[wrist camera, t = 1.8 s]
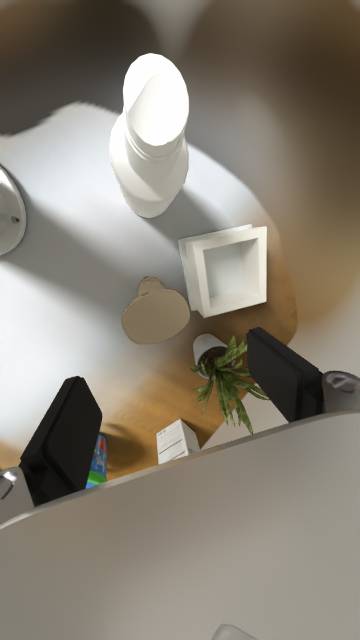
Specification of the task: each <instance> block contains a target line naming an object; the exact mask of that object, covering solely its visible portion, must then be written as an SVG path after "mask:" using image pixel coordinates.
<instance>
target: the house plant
mask: <svg viewBox="0 0 360 640" xmlns="http://www.w3.org/2000/svg"><path fill="white" fill-rule="evenodd" d="M235 348H236V340H235V337H234V334H233V337H232V338H231V340H230V341H229V343H228V346H227V345H225V344H224V343H223V342H221V341H220V340H219V339H217V338H216V337H215V336H213V335H211V334H202V335H200V336H198V337H197V338H196V339H195V340H194V342H193V352H194V358H195V363H196V366H191V365H189V366H190V368H191V370H192V371H193V372H197V371H198V373H199V374H200V375H201V376H202V377H204V378H207V379H209V381H208V383H207V384H206V385H205V386H202V387H199V388H196V389H193V390H194V391H197V392H202V391H203V392H202V394H201V395H200V396H199V397H198V398H197V399H196V400H194V401H202V400H203V399H204V398H205V397H206V396H207V394H208V392H209V390H210V392H209V394H208V397H207V400H206V403H205V406H204V409H205V407H206V405H207V402H208V399H209V396H210V394H211V391H212V387H213V380H214V379H216V385H217V391H218V396H219V403H220V408H221V411H222V414H223V417H224V419H225V421H226V423H227V425H228V420H227V413H228V416H229V418H230V420H231V422H232V423H233V425H234V426H235V423H234V420H233V416H232V412H231V409H230V406H229V403H228V400H231V399H232V400H233V402H234V405H235V409H236V410H237V414H238V418H239V426H240V423H241V420H242V421H243V423H244V424H245V425H246V427H247V428H248V430H249V432H250V433H251V434H253V430H252V426H251V423H250V420H249V418H248V416H247V413H246V411H245V408H244V406H243V404H242V402H241V401H240V399H239V398H238V397H237V395H238V394H239V391H238V389H237V388H236V387H240V388H244V389H245V390H247V391H248V392H249V393H251V394H252V395H254V396H255V397H257V398H260V399H263V400H270V399H267V398H264V397H262V396H260V395H258V394H256V393H254V392H253V391H251V390H250V389H252V390H254V391H256V392H257V393H259V394H261V395H264V396H266V397H268V396H267V395H266V394H265V393H264V391H263V390H262V389H260V388H258V387H257V386H255V385H253V384H251V383H248V382H246V381H244V380H242V379H240V378H239V377H237V376H235V375H238V376H246V377H251V375H250V373H249V371H248V367H246V368H240V367H241V365H242V363H243V362H242V359H241V360H240V361H239V363H238V364H237V365H236V366H234V363H235V360H236V359H237V358H239V357H240V356H241V355H242V354H243V353H245V352H247V344H246V345H244V340H243V342H242V343H240V344H239V345H238V347H237V348H236V349H235ZM230 370H233V371H237V372H241V373H245V374H238V373H232V372H229V371H230ZM231 373H232V374H231ZM233 374H234V375H233ZM212 379H213V380H212ZM211 383H212V385H211ZM235 386H236V387H235ZM210 387H211V389H210ZM247 387H249V388H250V389H249V388H247ZM224 402H225V404H224ZM225 407H226V408H225ZM204 409H203V411H204ZM226 410H227V413H226ZM203 411H202V413H203ZM201 415H202V414H201Z"/></svg>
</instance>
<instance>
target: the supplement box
mask: <svg viewBox="0 0 360 640" xmlns="http://www.w3.org/2000/svg"><path fill="white" fill-rule="evenodd" d="M157 447H158V460H159V464H162V463H165V462H168V461H171V460H174V459H177V458H180V457H184V456H187V455H190V454H193V453H196V452H199V451H200V448H199V444H198V440H197V437H196V434H195V432H194V431H193V430H191V429H190V428H189V427H188V426H187V425H186V424H185V423H184V422H183V421H182V420H181V419H179V420H177V421H175V422H174V423H172V424H171V425H169V426H168V427H166V428H165V429H163V430H162V431H160V432H159V433H157Z"/></svg>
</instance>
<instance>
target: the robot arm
mask: <svg viewBox="0 0 360 640" xmlns="http://www.w3.org/2000/svg"><path fill="white" fill-rule="evenodd" d="M17 219H19V222H18V221H17ZM25 229H26V211H25V206H24V203H23V200H22V197H21V195H20V192H19V191H18V189H17V187H16V185H15V184H14V182H13V181H12V179H11V178H10V177H9V175H8V174H7V173H6V171H5V170H4V169H3V168H2V167H1V166H0V255H3V254H6V253H8V252H9V251H11V250H12V249H14V248H15V247H16V246H17V245H18V244H19V243H20V241H21V239H22V237H23V236H24V233H25ZM246 337H247V356H248V371H249V373H250V375H251V377H252V378H253V379H254V380H255V381H256V383H257V384H258V385H259V386H260V388H261V389H262V390H263V391H264V393H265V394H266V395H267V396H268V397H269V399H270V400H271V401H272V402H273V404H274V405H275V406H276V407H277V408H278V410H279V411H280V412H281V413H282V414H283V416H284V417H285V418H286V420H287V421H288V422H289V423H288V424H284V425H281V426H278V427H274V428H271V429H268V430H265V431H262V432H259V433H255V434H252V435H249V436H246V437H243V438H240V439H237V440H234V441H230V442H227V443H224V444H221V445H218V446H215V447H212V448H208V449H205V450H202V451H199V452H196V453H193V454H190V455H187V456H184V457H180V458H177V459H174V460H171V461H168V462H165V463H162V464H159V465H156V466H153V467H150V468H147V469H144V470H141V471H138V472H135V473H131V474H128V475H125V476H122V477H119V478H116V479H113V480H110V481H107V482H104V483H101V484H98V485H95V486H92V487H89V488H86V485H87V481H88V477H89V472H90V468H91V464H92V460H93V455H94V451H95V447H96V443H97V439H98V434H99V430H100V426H101V422H102V412H101V410H100V408H99V406H98V404H97V402H96V400H95V398H94V397H93V395H92V393H91V391H90V389H89V387H88V385H87V383H86V381H85V379H84V378H83V377H82V378H80V377H79V376H75V377H71V378H67V379H66V380H65V381H64V383H63V385H62V386H61V388H60V390H59V392H58V393H57V395H56V397H55V399H54V400H53V402H52V404H51V405H50V407H49V409H48V411H47V412H46V414H45V416H44V418H43V419H42V421H41V423H40V425H39V426H38V428H37V430H36V431H35V433H34V435H33V437H32V438H31V440H30V442H29V444H28V445H27V447H26V449H25V451H24V452H23V454H22V456H21V457H20V459H21V460H22V461H21V463H20V464H19V466H18V467H11V468H8V469H6V470H4V471H2V472H0V640H360V378H359V377H357V376H355V375H353V374H350V373H347V372H343V371H328V372H325V373H324V374H323V373H322V372H320V371H319V369H318V368H317V367H315V366H314V365H312V364H311V363H310V362H308V361H307V360H305V359H304V358H302V357H301V356H300V355H298V354H297V353H296V352H294V351H293V350H291V349H290V348H289V347H287V346H286V345H284V344H283V343H282V342H280V341H279V340H277V339H276V338H275V337H273V336H272V335H270V334H269V333H268V332H266V331H265V330H263V329H262V328H260V327H257V328H254V329H250V330H249V332H248V333H247V334H246Z"/></svg>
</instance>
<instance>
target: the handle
mask: <svg viewBox="0 0 360 640" xmlns="http://www.w3.org/2000/svg"><path fill="white" fill-rule="evenodd" d="M189 319H190V310H189V307H188V304H187V302H186V300H185V299H184V298H183V296H182V295H181V294H180V293H179V292H177V291H176V290H171V289H165V288H164V286H163V284H162V283H161V282H160V281H159V280H158V279H157V278H153V277H145V278H144V279H143V280H142V281H141V282H140V284H139V286H138V289H137V298H135V299H134V300H133V301H132V302H131V303H130V305H129V306H128V307H127V308H126V309H125V311H124V312H123V314H122V327H123V330H124V332H125V333H126V335H127V336H128V338H129V339H130V340H132V341H133V342H135V343H137V344H155V343H159V342H162V341H165V340H167V339H169V338H171V337H173V336H175V335H176V334H178V333H179V332H180V331H181V330H182V329H183V328H184V327H185V326H186V325H187V324H188V322H189Z"/></svg>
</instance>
